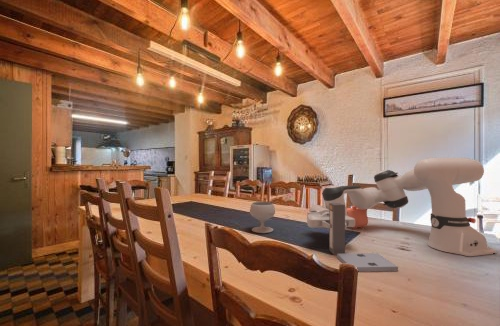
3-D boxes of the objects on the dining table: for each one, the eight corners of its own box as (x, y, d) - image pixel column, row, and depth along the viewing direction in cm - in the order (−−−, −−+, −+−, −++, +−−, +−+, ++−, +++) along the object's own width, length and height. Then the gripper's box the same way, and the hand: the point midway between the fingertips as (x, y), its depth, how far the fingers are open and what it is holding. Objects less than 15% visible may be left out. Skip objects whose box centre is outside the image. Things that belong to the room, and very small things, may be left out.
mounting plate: (377, 256, 89) (377, 252, 89) (398, 271, 77) (398, 266, 77) (337, 257, 89) (337, 253, 89) (351, 271, 77) (351, 267, 77)
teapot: (349, 231, 124) (348, 209, 124) (334, 225, 135) (334, 205, 135) (377, 227, 130) (377, 206, 130) (361, 223, 141) (360, 203, 142)
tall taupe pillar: (339, 250, 96) (339, 202, 97) (344, 254, 91) (345, 204, 92) (328, 250, 96) (328, 202, 97) (333, 254, 91) (333, 205, 92)
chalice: (267, 226, 135) (267, 200, 136) (280, 232, 123) (279, 204, 123) (246, 228, 130) (245, 202, 130) (256, 235, 117) (256, 206, 117)
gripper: (347, 224, 107) (362, 233, 93) (304, 225, 107) (313, 234, 93) (347, 211, 107) (362, 218, 93) (304, 211, 107) (313, 218, 93)
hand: (337, 226), depth 93 cm, fingers closed on tall taupe pillar, 5 cm apart
